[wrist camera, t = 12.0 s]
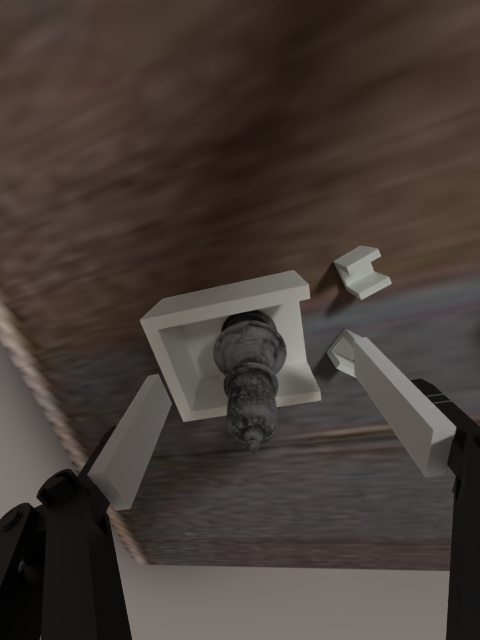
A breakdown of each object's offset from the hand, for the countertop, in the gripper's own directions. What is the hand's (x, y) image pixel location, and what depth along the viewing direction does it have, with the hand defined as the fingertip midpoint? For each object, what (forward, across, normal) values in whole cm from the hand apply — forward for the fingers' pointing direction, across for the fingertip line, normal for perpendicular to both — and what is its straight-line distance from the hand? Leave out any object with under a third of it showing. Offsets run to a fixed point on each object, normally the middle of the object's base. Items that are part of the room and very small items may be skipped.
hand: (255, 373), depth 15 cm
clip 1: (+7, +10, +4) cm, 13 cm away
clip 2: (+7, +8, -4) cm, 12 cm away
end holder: (+7, -2, 0) cm, 7 cm away
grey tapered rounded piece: (+7, 0, 0) cm, 7 cm away
